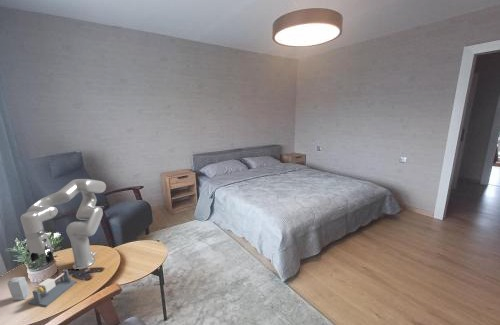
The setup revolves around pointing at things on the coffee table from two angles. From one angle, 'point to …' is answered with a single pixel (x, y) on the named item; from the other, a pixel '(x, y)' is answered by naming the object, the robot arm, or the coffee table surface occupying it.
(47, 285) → the sleeve
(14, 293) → the skincare box
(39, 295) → the slide rail
